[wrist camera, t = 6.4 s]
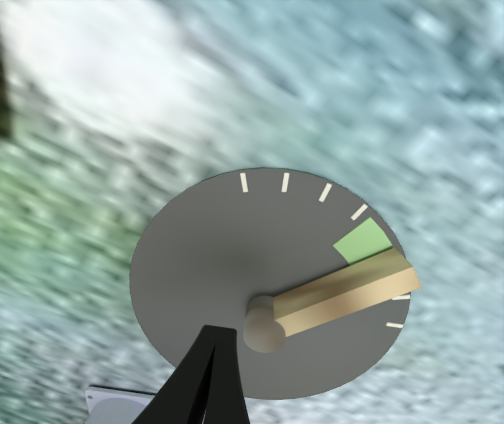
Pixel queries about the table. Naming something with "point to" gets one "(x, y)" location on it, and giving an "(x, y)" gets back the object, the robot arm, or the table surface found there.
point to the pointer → (327, 299)
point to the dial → (263, 275)
